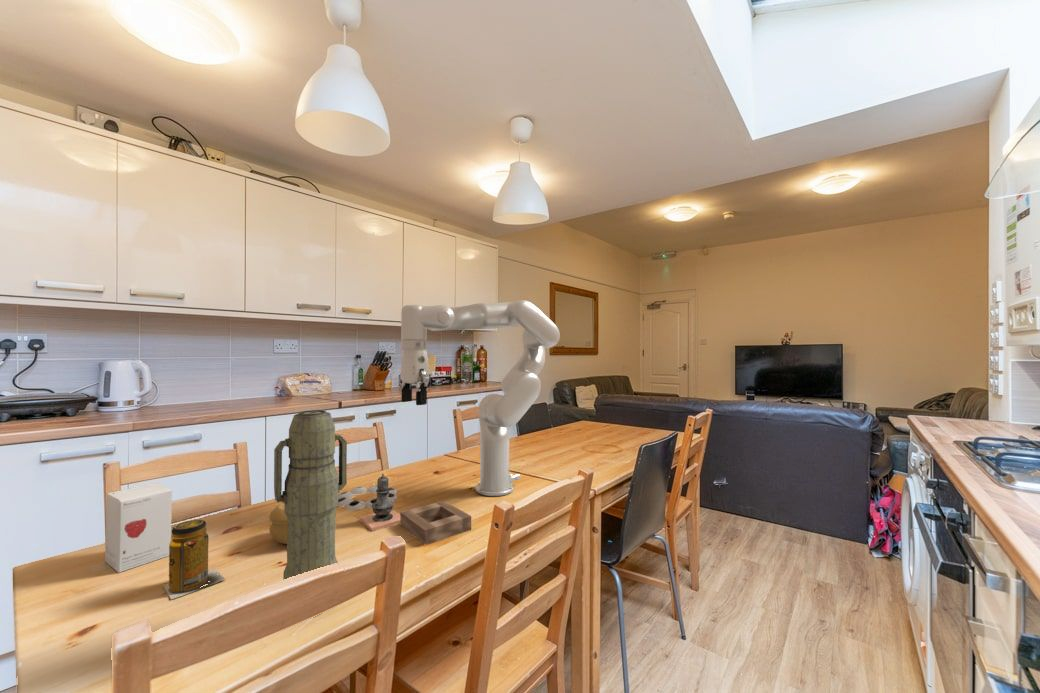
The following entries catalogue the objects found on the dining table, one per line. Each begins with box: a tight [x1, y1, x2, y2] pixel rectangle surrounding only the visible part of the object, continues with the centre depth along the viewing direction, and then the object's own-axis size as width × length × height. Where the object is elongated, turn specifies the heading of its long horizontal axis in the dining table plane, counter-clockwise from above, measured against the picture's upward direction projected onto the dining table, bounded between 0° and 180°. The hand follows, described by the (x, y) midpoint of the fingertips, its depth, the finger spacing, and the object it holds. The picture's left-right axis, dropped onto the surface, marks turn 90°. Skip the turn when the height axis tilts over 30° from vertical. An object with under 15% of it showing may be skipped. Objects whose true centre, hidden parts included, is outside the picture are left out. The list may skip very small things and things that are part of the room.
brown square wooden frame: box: [399, 500, 472, 546], centre depth 107 cm, size 13×14×4 cm
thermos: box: [273, 409, 348, 580], centre depth 75 cm, size 9×12×35 cm
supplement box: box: [104, 482, 173, 573], centre depth 91 cm, size 9×9×15 cm
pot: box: [269, 502, 287, 545], centre depth 101 cm, size 12×12×10 cm
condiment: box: [162, 519, 226, 600], centre depth 82 cm, size 7×8×12 cm
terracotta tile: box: [359, 509, 400, 532], centre depth 111 cm, size 9×9×1 cm
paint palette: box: [337, 484, 399, 511], centre depth 128 cm, size 20×20×2 cm
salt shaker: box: [371, 473, 395, 522], centre depth 111 cm, size 6×6×12 cm
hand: (413, 403), depth 124 cm, fingers open, 9 cm apart
